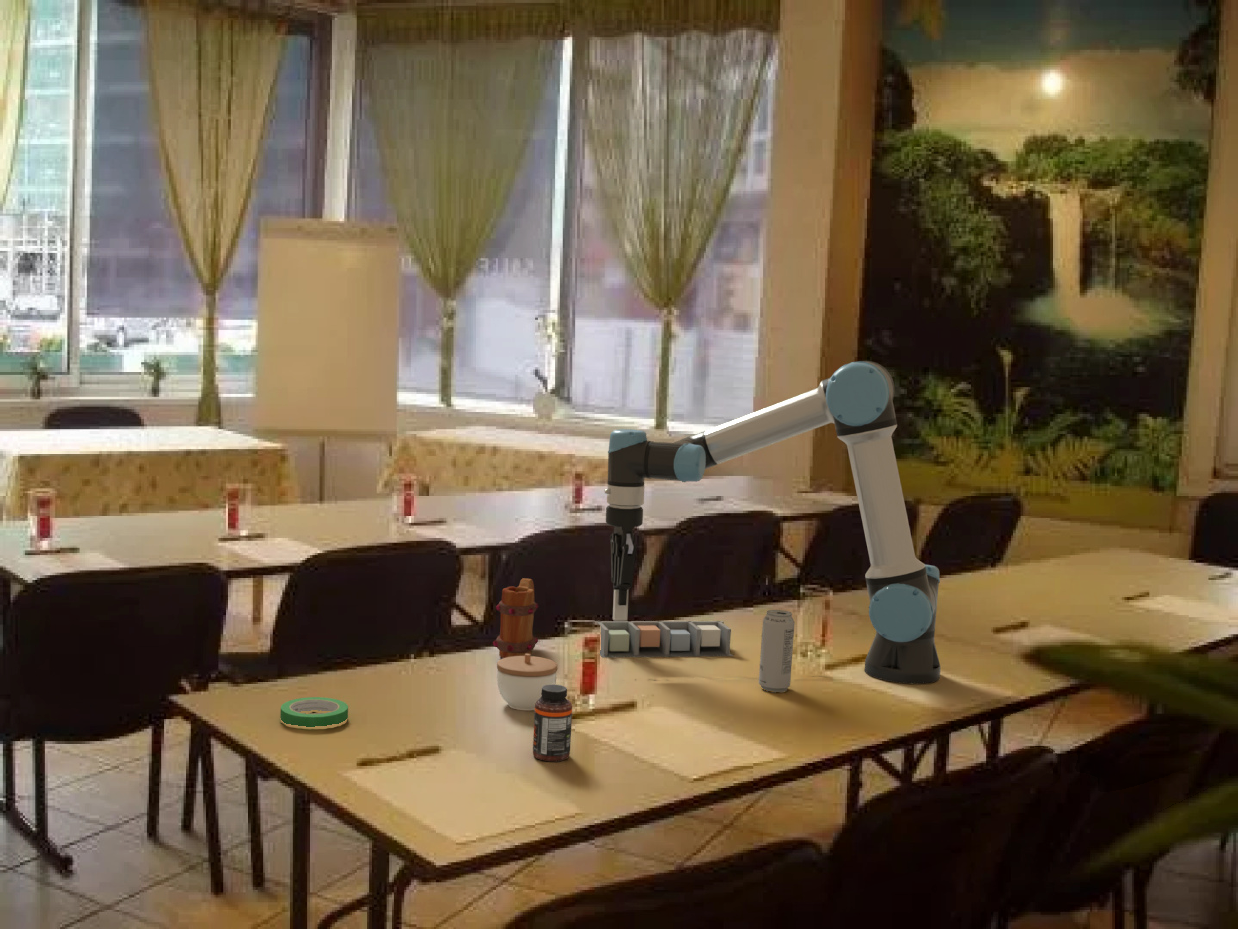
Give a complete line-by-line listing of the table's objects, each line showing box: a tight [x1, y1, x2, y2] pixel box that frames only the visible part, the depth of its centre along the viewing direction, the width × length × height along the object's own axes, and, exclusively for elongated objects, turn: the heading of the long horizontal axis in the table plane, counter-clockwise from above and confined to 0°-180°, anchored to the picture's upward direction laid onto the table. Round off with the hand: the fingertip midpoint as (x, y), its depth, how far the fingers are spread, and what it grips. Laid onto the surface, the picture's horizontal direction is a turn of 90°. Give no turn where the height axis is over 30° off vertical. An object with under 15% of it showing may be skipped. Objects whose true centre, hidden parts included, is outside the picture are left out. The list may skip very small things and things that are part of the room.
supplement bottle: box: [532, 684, 573, 762], centre depth 226 cm, size 6×6×11 cm
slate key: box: [669, 629, 691, 651], centre depth 296 cm, size 4×4×4 cm
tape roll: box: [279, 696, 349, 727], centre depth 239 cm, size 11×11×3 cm
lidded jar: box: [496, 653, 558, 711], centre depth 253 cm, size 11×11×9 cm
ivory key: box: [697, 625, 721, 646], centre depth 297 cm, size 4×4×4 cm
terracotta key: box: [637, 625, 660, 647], centre depth 294 cm, size 4×4×4 cm
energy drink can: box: [758, 609, 795, 693], centre depth 273 cm, size 6×6×15 cm
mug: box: [492, 577, 539, 659], centre depth 288 cm, size 15×8×15 cm, turn 168°
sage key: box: [608, 630, 630, 651], centre depth 292 cm, size 4×4×4 cm
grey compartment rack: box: [593, 620, 735, 658], centre depth 295 cm, size 10×28×6 cm, turn 104°
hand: (619, 619), depth 292 cm, fingers closed
